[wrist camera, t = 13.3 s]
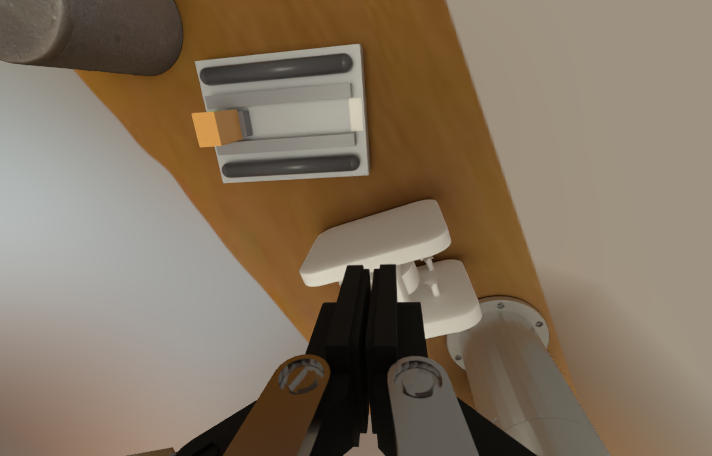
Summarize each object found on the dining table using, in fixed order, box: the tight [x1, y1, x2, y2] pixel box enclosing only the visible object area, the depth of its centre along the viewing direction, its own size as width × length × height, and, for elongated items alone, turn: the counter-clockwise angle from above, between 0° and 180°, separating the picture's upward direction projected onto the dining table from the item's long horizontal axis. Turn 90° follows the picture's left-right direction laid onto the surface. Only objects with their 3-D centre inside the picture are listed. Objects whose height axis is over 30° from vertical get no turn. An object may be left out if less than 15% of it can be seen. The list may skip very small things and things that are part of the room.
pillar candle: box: [0, 0, 183, 76], centre depth 27 cm, size 10×10×15 cm
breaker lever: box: [191, 109, 253, 147], centre depth 31 cm, size 3×3×6 cm
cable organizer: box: [299, 199, 482, 339], centre depth 35 cm, size 15×11×12 cm
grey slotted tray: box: [195, 44, 370, 183], centre depth 33 cm, size 12×16×5 cm
